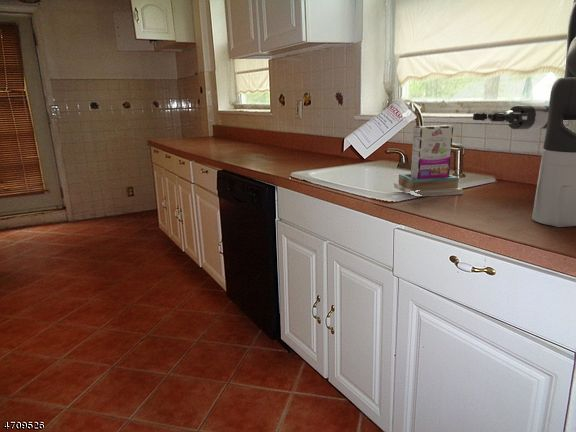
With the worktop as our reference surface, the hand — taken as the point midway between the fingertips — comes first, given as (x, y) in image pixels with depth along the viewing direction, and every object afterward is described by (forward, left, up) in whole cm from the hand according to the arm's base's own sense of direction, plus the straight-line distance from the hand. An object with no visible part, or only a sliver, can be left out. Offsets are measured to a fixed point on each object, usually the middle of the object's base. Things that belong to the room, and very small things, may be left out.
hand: (482, 117), depth 131 cm
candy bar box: (+2, +15, -19) cm, 24 cm away
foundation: (+2, +15, -23) cm, 28 cm away
